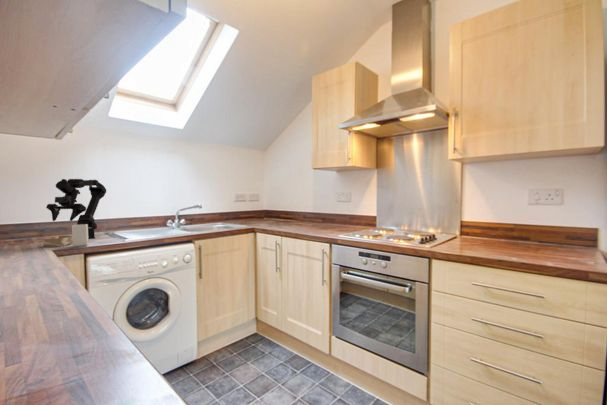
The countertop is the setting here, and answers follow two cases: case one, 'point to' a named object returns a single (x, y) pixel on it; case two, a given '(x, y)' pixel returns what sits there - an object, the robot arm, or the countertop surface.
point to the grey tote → (80, 235)
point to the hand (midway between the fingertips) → (62, 220)
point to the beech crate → (57, 241)
